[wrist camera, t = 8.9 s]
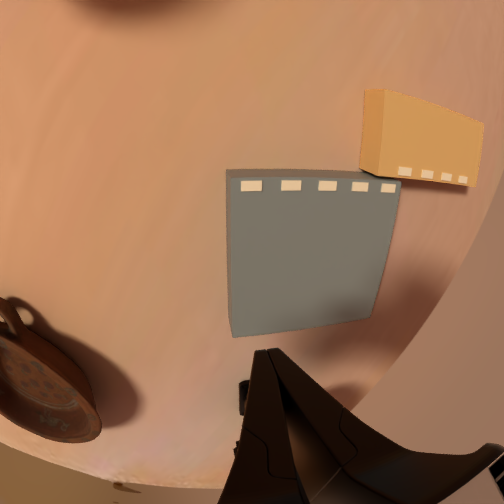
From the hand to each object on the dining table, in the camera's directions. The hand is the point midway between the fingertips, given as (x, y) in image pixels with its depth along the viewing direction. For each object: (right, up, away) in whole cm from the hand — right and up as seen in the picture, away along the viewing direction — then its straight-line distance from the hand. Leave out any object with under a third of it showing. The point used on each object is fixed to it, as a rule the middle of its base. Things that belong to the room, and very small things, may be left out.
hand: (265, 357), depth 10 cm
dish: (-24, -9, +14) cm, 29 cm away
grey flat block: (+4, +4, +12) cm, 14 cm away
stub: (+13, +13, +10) cm, 21 cm away
